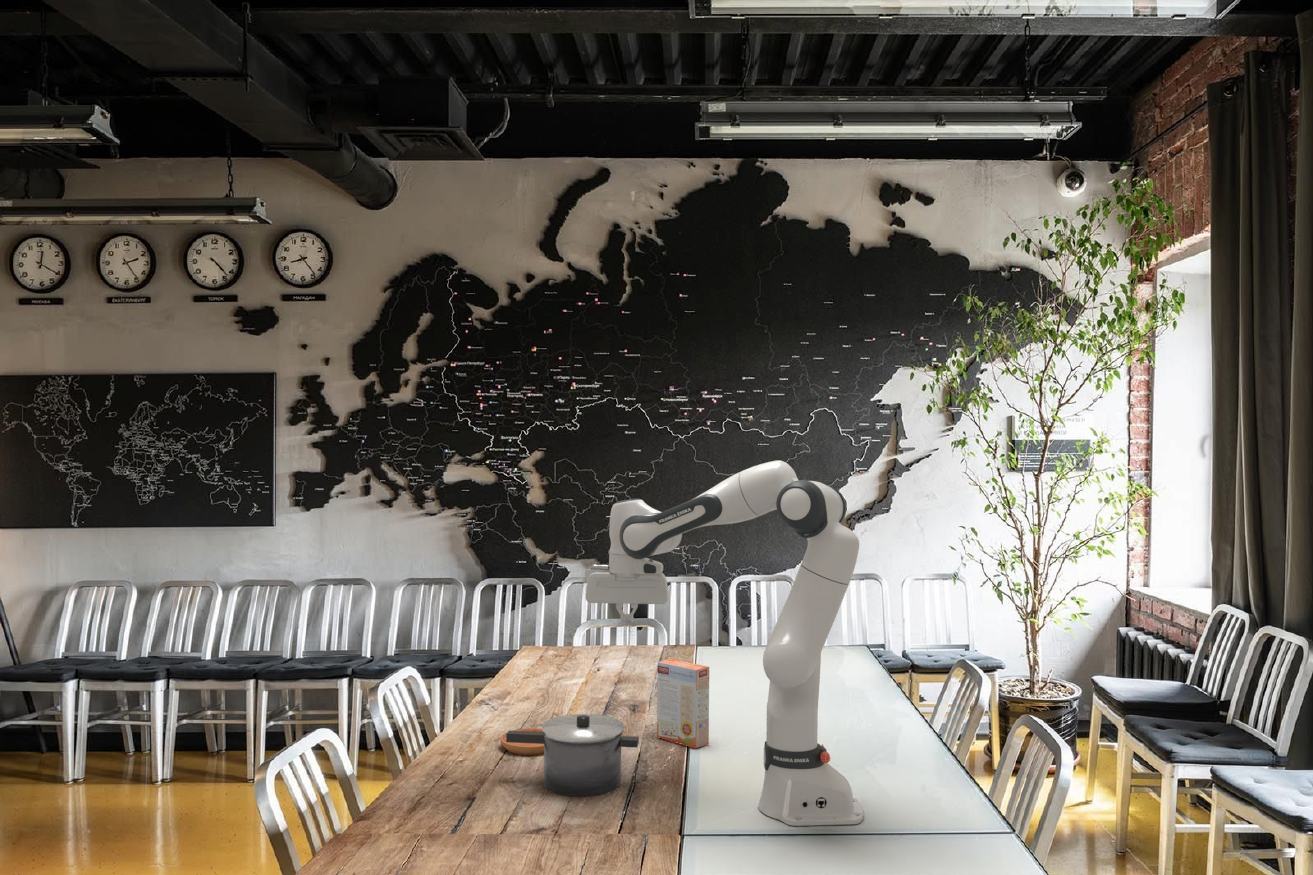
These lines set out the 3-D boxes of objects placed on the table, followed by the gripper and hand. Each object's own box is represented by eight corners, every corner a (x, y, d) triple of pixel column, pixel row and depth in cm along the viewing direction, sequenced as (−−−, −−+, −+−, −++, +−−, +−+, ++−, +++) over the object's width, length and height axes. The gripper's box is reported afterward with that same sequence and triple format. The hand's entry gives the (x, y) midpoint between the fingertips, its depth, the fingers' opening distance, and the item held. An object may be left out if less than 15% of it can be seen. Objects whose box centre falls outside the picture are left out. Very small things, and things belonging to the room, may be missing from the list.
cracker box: (709, 745, 247) (710, 665, 247) (695, 750, 243) (695, 669, 243) (670, 733, 257) (671, 657, 257) (655, 738, 252) (656, 660, 252)
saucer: (537, 734, 255) (537, 723, 255) (574, 748, 243) (574, 737, 244) (487, 747, 244) (488, 736, 244) (524, 762, 232) (524, 750, 232)
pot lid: (628, 720, 227) (628, 707, 227) (617, 745, 208) (617, 730, 208) (551, 717, 228) (551, 704, 229) (533, 741, 210) (533, 727, 210)
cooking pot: (642, 772, 226) (642, 722, 226) (632, 799, 208) (633, 745, 208) (516, 766, 229) (517, 717, 229) (496, 792, 211) (497, 739, 211)
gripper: (583, 566, 225) (582, 623, 225) (667, 567, 224) (666, 625, 223) (587, 562, 232) (586, 618, 232) (669, 564, 230) (668, 620, 230)
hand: (626, 621), depth 227 cm, fingers closed
